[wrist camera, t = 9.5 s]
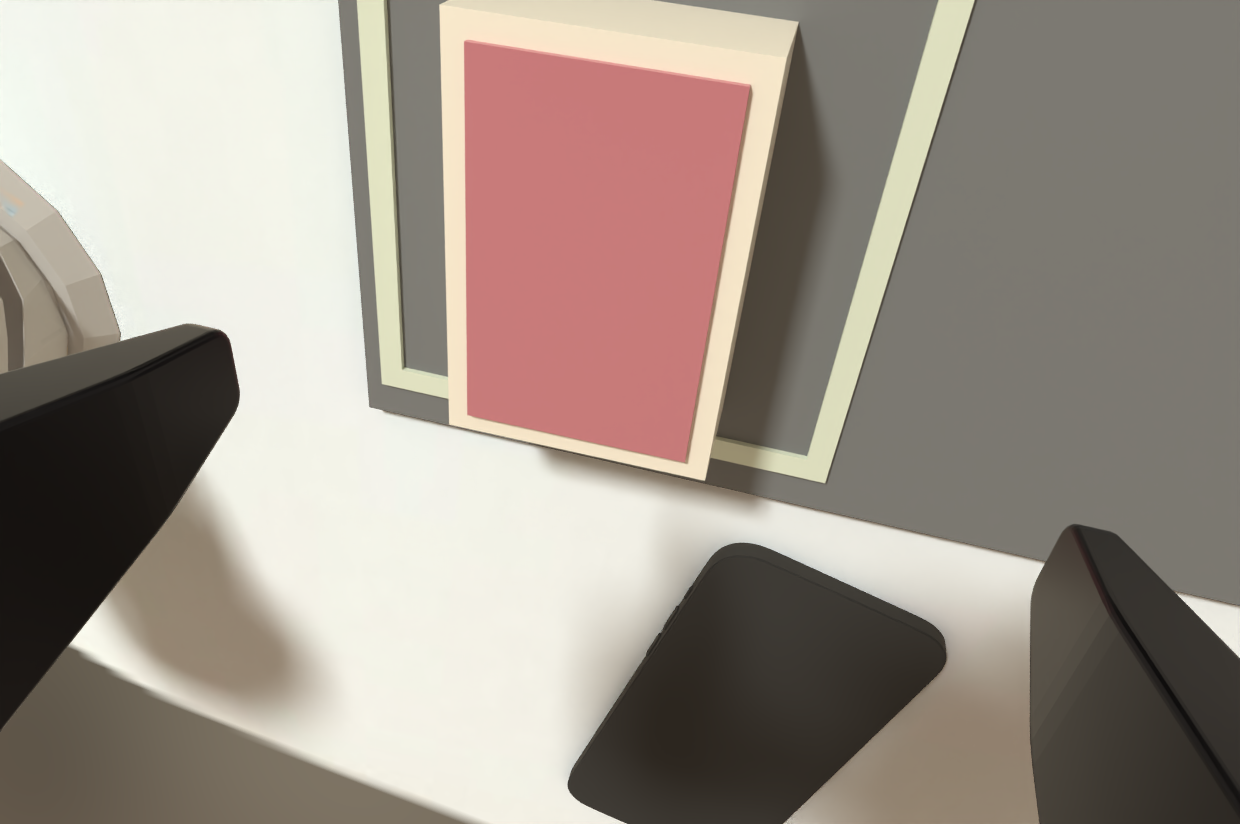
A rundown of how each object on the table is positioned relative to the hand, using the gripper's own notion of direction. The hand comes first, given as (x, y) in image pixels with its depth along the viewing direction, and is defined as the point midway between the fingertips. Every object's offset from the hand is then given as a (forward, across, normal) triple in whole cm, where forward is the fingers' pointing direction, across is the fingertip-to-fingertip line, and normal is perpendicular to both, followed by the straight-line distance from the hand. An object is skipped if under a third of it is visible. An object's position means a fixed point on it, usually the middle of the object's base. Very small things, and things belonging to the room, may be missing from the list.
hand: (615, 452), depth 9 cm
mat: (+12, -3, +2) cm, 12 cm away
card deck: (+11, +2, +2) cm, 12 cm away
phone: (+12, -3, +19) cm, 23 cm away
